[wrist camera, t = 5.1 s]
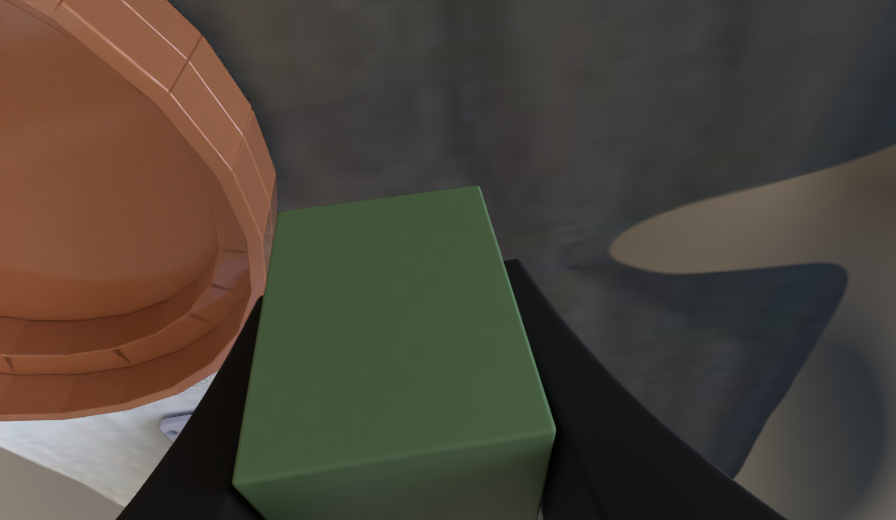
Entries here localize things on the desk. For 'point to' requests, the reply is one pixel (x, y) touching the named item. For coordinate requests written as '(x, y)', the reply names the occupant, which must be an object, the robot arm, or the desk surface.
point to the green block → (392, 369)
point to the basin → (122, 207)
